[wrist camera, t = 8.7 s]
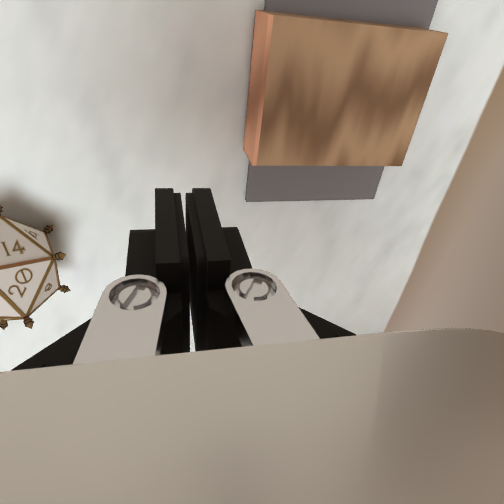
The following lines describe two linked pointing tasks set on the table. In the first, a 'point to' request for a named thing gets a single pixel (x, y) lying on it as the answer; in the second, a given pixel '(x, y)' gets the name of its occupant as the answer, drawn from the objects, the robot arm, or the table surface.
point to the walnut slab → (336, 90)
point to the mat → (333, 177)
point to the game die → (25, 270)
